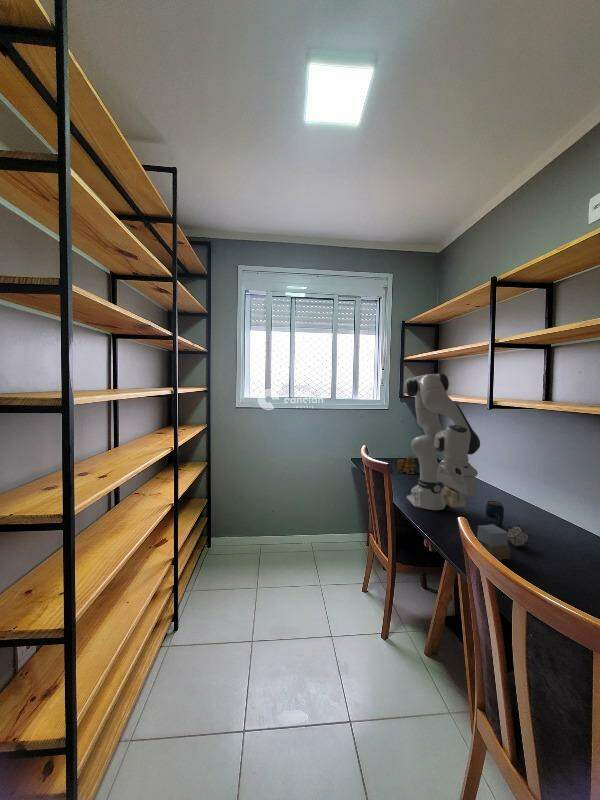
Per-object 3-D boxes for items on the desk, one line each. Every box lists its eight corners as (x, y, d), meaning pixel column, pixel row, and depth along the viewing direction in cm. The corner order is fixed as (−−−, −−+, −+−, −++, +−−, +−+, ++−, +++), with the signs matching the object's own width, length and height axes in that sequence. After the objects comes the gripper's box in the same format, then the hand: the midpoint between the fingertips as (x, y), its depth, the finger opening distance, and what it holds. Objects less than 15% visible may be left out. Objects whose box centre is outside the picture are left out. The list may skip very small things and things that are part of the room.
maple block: (442, 501, 131) (443, 487, 130) (455, 500, 132) (456, 486, 131) (452, 507, 125) (452, 492, 124) (465, 506, 126) (466, 492, 126)
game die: (512, 555, 127) (495, 534, 128) (516, 541, 132) (500, 521, 133) (534, 553, 120) (517, 531, 121) (538, 538, 125) (521, 517, 127)
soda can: (483, 529, 142) (484, 503, 141) (487, 524, 147) (488, 499, 146) (501, 534, 137) (501, 507, 137) (504, 528, 142) (505, 502, 142)
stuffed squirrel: (415, 475, 229) (415, 458, 228) (395, 473, 235) (395, 456, 234) (416, 472, 238) (416, 455, 237) (397, 470, 244) (397, 453, 243)
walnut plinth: (475, 550, 123) (475, 537, 123) (492, 548, 125) (493, 536, 125) (490, 561, 116) (491, 548, 115) (509, 559, 117) (509, 546, 117)
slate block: (477, 538, 123) (477, 525, 123) (493, 536, 124) (493, 524, 124) (491, 547, 116) (491, 533, 116) (507, 545, 117) (507, 532, 117)
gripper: (433, 459, 137) (432, 490, 138) (466, 473, 117) (464, 509, 118) (446, 459, 138) (445, 489, 139) (481, 472, 118) (479, 508, 119)
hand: (454, 498), depth 128 cm, fingers closed on maple block, 6 cm apart
